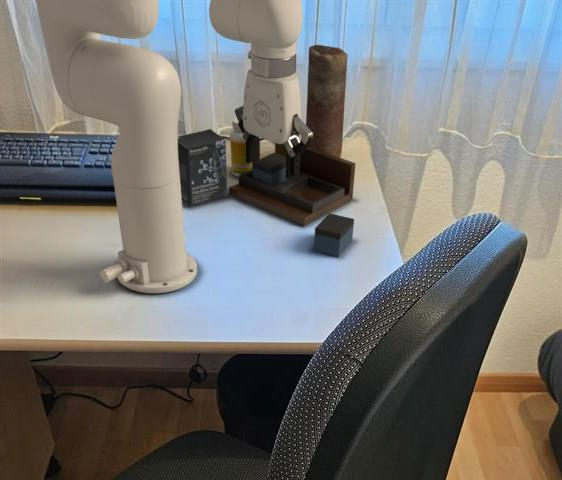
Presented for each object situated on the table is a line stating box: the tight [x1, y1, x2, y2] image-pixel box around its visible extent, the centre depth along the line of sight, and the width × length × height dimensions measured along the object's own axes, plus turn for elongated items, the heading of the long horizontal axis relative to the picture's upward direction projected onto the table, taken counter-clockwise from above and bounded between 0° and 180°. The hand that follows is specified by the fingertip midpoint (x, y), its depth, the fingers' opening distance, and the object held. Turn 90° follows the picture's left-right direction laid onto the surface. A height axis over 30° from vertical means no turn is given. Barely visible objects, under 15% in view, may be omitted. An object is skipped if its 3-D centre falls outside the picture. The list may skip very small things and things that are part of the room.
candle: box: [305, 44, 349, 158], centre depth 143 cm, size 8×7×20 cm
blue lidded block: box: [313, 212, 355, 258], centre depth 125 cm, size 6×4×4 cm
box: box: [178, 128, 228, 208], centre depth 134 cm, size 8×6×11 cm
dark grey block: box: [252, 152, 288, 187], centre depth 138 cm, size 6×4×4 cm
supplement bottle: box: [229, 117, 252, 178], centre depth 142 cm, size 5×5×10 cm
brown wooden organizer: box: [228, 141, 357, 227], centre depth 136 cm, size 14×18×7 cm
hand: (272, 168), depth 137 cm, fingers open, 9 cm apart
